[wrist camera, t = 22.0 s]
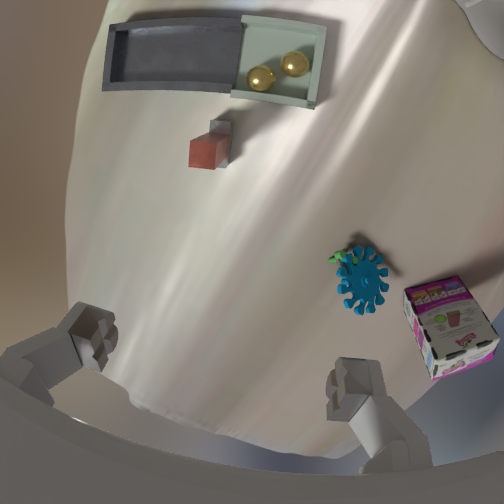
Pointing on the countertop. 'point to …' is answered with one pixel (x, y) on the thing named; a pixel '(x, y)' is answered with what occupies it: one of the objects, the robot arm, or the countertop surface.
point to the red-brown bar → (212, 146)
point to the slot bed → (173, 54)
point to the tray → (270, 53)
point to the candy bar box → (449, 327)
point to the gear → (361, 278)
